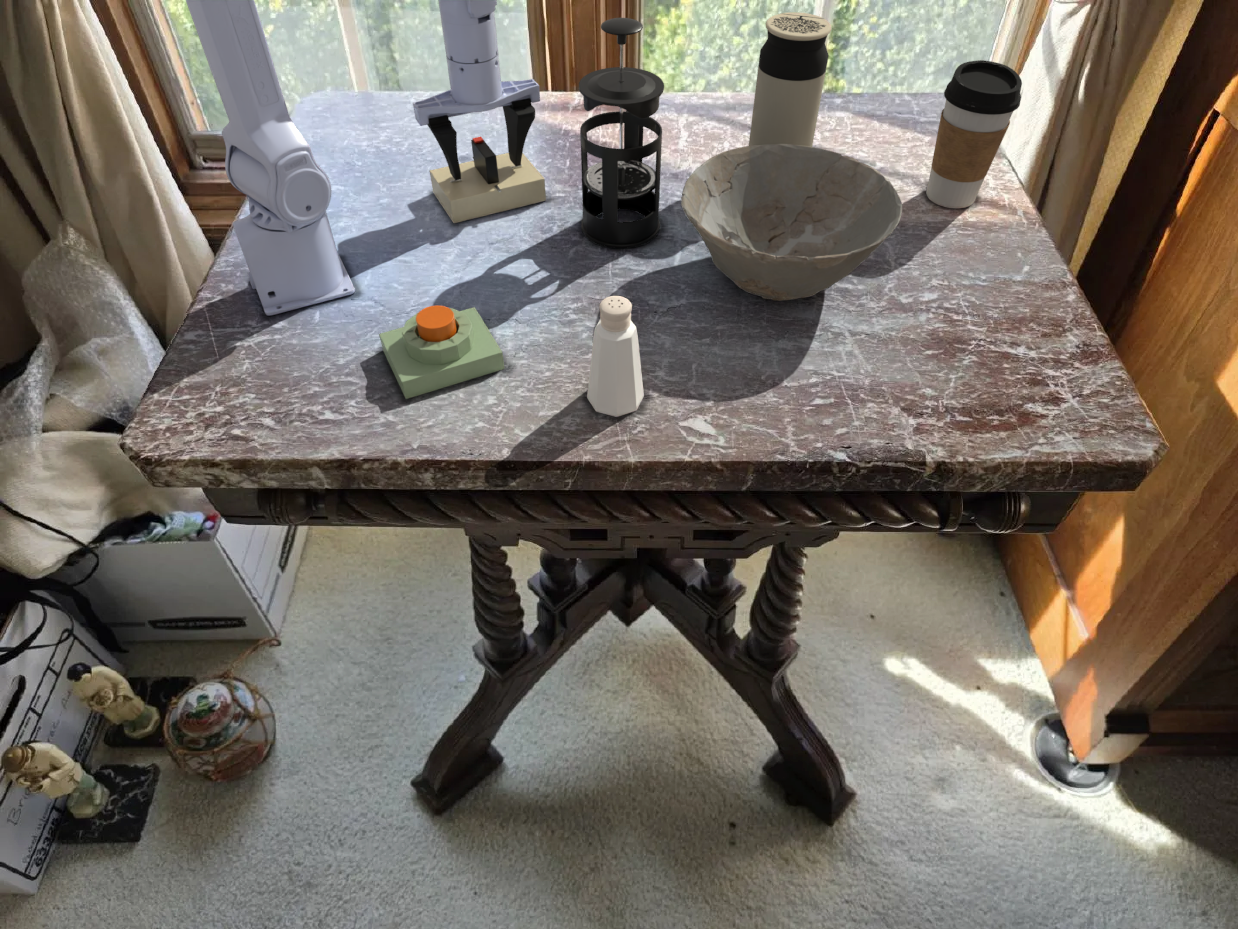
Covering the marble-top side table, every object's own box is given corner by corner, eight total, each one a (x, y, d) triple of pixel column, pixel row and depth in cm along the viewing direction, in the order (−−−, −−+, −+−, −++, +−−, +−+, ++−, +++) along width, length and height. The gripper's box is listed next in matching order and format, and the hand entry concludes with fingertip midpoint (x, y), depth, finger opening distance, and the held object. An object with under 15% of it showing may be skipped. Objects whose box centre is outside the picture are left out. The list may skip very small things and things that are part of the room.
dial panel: (455, 226, 101) (451, 202, 99) (431, 190, 107) (427, 166, 104) (548, 203, 105) (546, 179, 102) (520, 169, 110) (518, 146, 108)
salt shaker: (642, 378, 83) (645, 284, 75) (645, 417, 79) (649, 322, 71) (586, 379, 83) (583, 285, 74) (587, 418, 79) (584, 324, 71)
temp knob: (499, 181, 102) (496, 153, 99) (488, 184, 102) (484, 155, 99) (484, 163, 105) (481, 135, 102) (474, 165, 105) (470, 137, 102)
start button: (425, 347, 80) (422, 332, 79) (414, 325, 82) (411, 311, 81) (461, 336, 81) (459, 322, 80) (449, 315, 83) (447, 301, 82)
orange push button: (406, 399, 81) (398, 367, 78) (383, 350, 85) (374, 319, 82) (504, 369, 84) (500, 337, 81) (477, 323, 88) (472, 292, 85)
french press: (647, 257, 97) (654, 48, 80) (568, 244, 98) (559, 37, 82) (671, 205, 104) (682, 4, 87) (598, 194, 106) (595, -5, 89)
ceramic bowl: (889, 238, 100) (911, 158, 92) (866, 360, 85) (890, 276, 77) (705, 207, 104) (712, 128, 97) (653, 317, 89) (656, 234, 82)
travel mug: (796, 191, 107) (822, 42, 94) (737, 176, 109) (754, 29, 96) (815, 163, 112) (842, 17, 98) (757, 150, 114) (776, 6, 101)
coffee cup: (978, 180, 109) (1019, 60, 98) (991, 216, 103) (1036, 92, 92) (911, 177, 109) (945, 57, 98) (920, 212, 104) (957, 89, 93)
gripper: (520, 29, 98) (528, 142, 108) (397, 51, 93) (418, 167, 103) (544, 51, 93) (550, 167, 103) (416, 75, 89) (436, 194, 99)
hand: (485, 169), depth 103 cm, fingers open, 7 cm apart
